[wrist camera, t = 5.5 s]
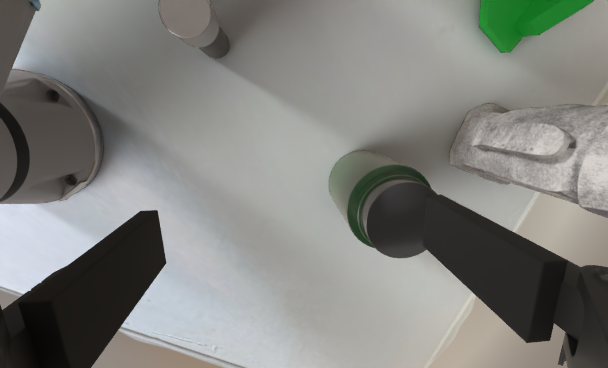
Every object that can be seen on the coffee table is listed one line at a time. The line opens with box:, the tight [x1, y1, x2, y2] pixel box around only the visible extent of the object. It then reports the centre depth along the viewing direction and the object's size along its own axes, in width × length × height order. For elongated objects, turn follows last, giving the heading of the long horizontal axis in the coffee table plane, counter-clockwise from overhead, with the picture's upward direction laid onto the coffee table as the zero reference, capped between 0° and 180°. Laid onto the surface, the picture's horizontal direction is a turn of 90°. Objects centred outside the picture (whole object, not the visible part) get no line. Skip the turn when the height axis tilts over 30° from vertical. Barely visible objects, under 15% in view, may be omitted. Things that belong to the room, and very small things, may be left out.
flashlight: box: [159, 0, 229, 58], centre depth 28 cm, size 4×4×12 cm
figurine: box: [450, 103, 608, 218], centre depth 28 cm, size 10×14×25 cm
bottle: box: [329, 150, 437, 258], centre depth 33 cm, size 9×9×14 cm
